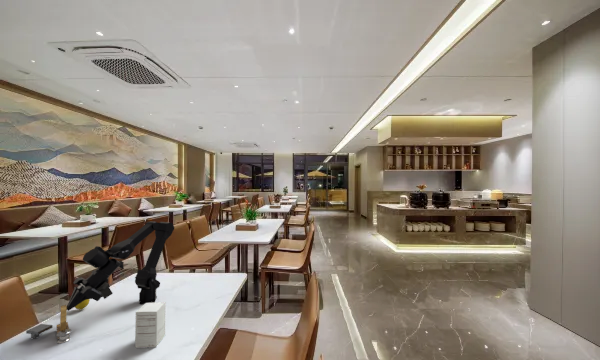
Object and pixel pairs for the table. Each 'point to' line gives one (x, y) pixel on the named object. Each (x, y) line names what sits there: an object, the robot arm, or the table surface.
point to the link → (62, 320)
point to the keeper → (38, 330)
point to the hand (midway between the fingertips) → (67, 309)
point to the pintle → (63, 336)
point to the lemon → (82, 304)
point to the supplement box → (150, 325)
